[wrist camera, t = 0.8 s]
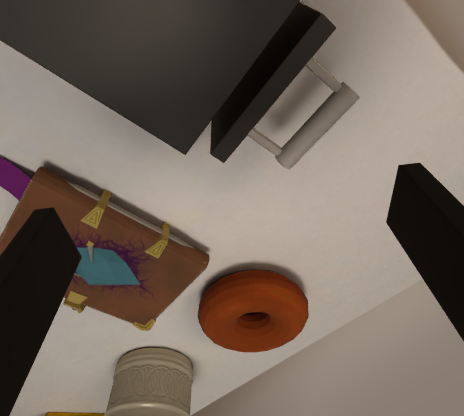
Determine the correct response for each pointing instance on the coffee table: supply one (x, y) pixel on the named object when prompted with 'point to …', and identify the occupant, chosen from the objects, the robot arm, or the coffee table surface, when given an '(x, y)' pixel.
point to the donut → (253, 300)
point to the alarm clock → (73, 414)
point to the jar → (151, 384)
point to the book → (107, 248)
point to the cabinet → (148, 53)
